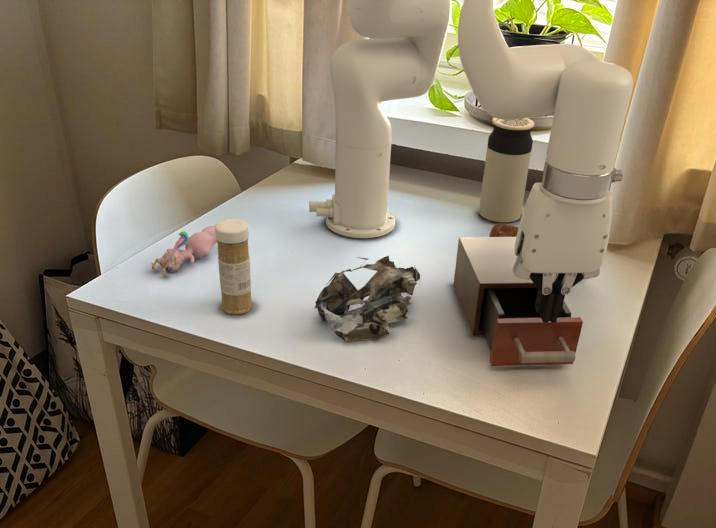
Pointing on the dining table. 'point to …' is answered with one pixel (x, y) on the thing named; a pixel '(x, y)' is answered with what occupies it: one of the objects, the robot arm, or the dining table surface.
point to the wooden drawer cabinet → (484, 273)
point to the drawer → (526, 329)
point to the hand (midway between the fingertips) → (546, 316)
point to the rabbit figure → (187, 249)
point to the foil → (367, 301)
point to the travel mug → (506, 169)
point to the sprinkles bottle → (234, 265)
